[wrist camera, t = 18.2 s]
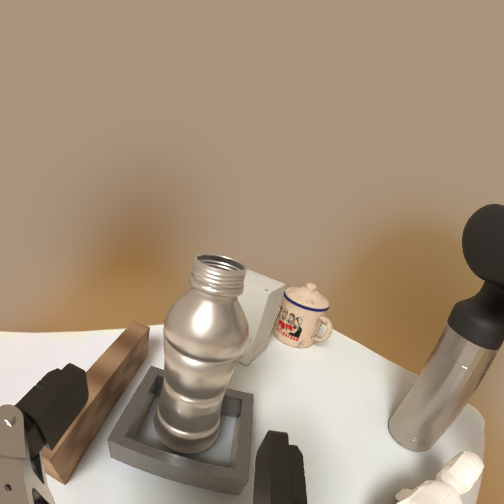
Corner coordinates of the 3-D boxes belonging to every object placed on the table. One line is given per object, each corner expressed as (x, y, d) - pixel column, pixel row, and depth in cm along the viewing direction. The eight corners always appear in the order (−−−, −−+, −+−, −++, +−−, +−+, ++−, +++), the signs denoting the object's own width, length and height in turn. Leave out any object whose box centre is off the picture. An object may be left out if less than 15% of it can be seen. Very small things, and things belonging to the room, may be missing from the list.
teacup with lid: (262, 328, 53) (279, 275, 50) (292, 323, 59) (308, 274, 56) (305, 362, 44) (329, 303, 42) (333, 351, 50) (355, 299, 47)
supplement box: (266, 349, 46) (288, 284, 43) (246, 367, 39) (269, 294, 36) (231, 331, 49) (249, 268, 46) (208, 345, 42) (224, 274, 40)
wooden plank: (131, 349, 35) (133, 321, 34) (147, 355, 35) (149, 327, 34) (42, 470, 11) (25, 443, 10) (64, 484, 11) (49, 460, 10)
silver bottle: (159, 410, 26) (182, 241, 21) (216, 422, 27) (263, 260, 22) (147, 451, 20) (161, 263, 15) (214, 466, 20) (273, 289, 16)
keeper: (149, 385, 29) (151, 365, 28) (246, 412, 29) (253, 394, 29) (111, 457, 17) (107, 439, 16) (238, 494, 17) (247, 481, 17)
